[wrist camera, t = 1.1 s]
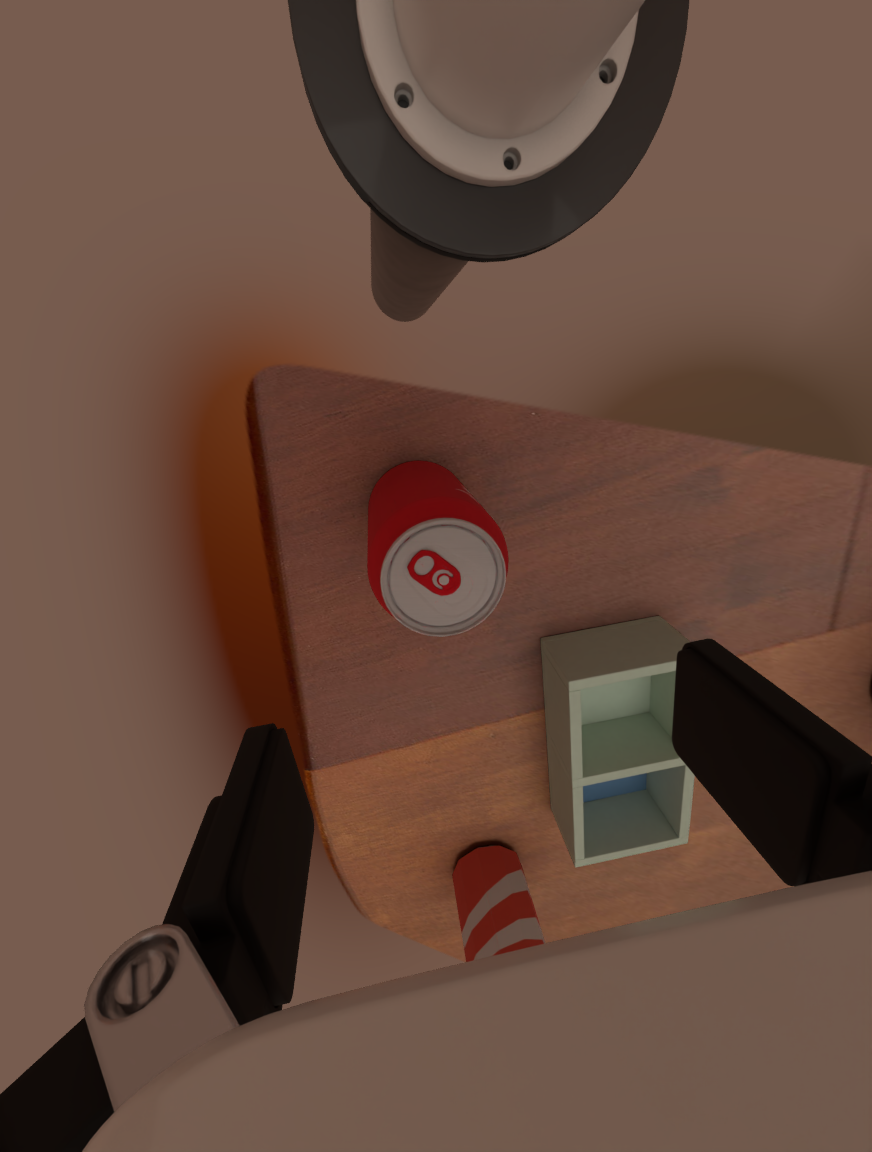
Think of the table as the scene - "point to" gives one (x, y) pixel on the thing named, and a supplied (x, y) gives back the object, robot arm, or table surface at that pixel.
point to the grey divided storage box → (615, 740)
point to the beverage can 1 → (433, 551)
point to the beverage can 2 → (494, 903)
